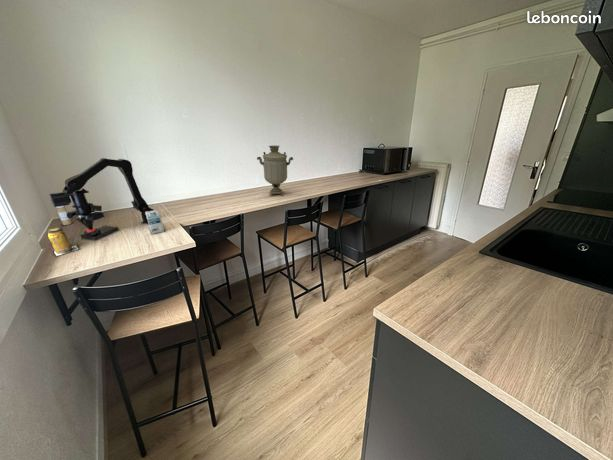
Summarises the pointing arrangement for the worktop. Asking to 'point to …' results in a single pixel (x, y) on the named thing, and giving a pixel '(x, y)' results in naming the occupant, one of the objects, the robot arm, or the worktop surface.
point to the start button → (91, 230)
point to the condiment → (60, 241)
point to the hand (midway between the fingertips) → (91, 229)
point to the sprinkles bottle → (63, 215)
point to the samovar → (275, 168)
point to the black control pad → (99, 232)
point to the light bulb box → (154, 221)
